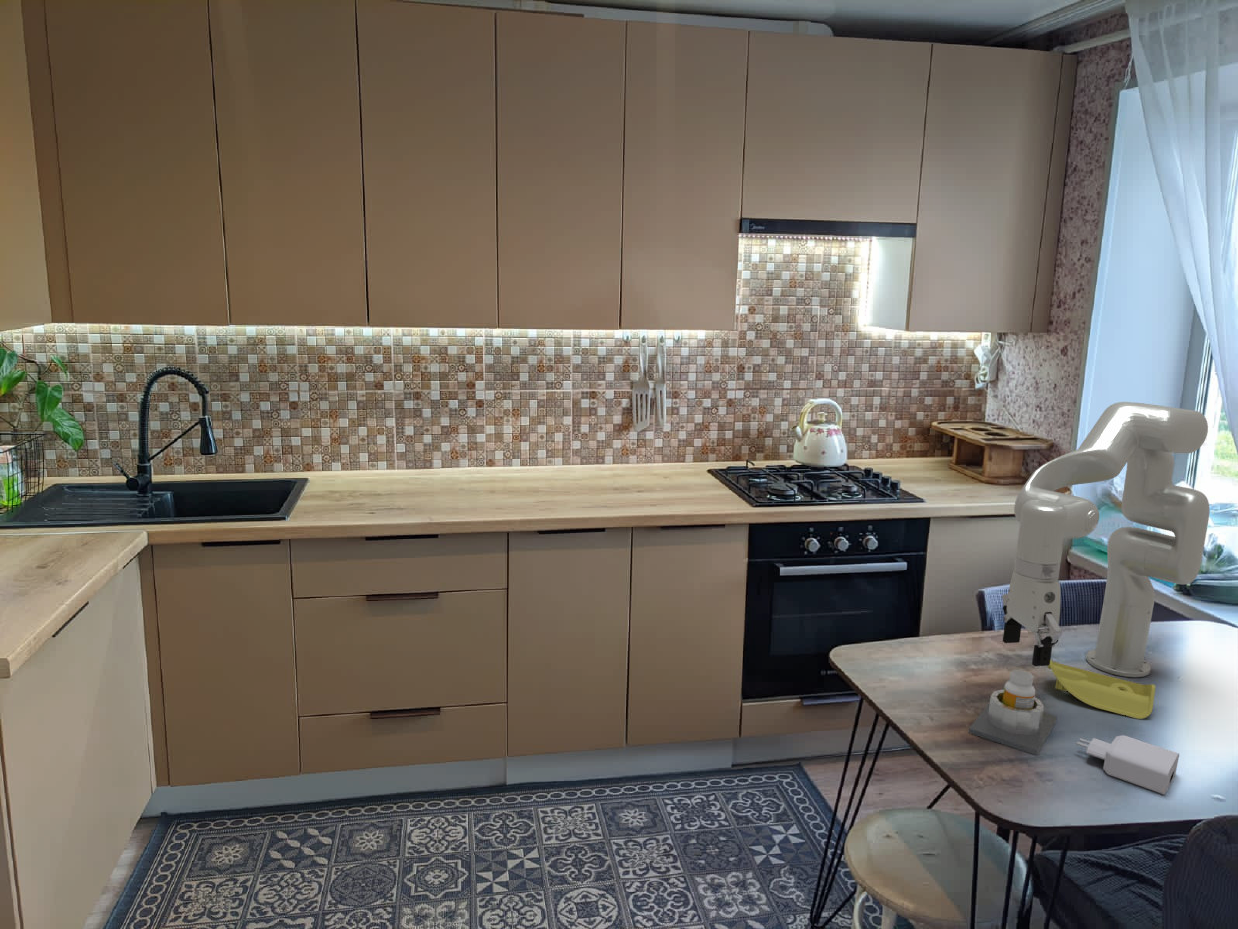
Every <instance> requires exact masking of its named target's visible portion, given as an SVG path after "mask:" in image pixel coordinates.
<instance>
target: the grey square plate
mask: <svg viewBox="0 0 1238 929" xmlns="http://www.w3.org/2000/svg"><path fill="white" fill-rule="evenodd" d="M1003 694H1004V688H1003V689H999V690H994V691H993V692H992V693H991V695H990V697H989V702H988V703H987V705H986V706H985V707H984V708H983V710H982V711H981V712H980V714H979V715H978V716H977V718H975V720H974V721H973V723H972V724H970V725H971V726H969V728H968V734H970V733H971V734H970V735H974V736H975V737H979V736H980V738H983V739H986V740H988V739H989V741H992V742H995V743H998V744H1000V743H1001V745H1004V746H1007V747H1009V748H1014V749H1016V750H1019V751H1023V752H1024V753H1025V752H1026V753H1028V754H1030V755H1034V756H1038V754H1039V752H1040V750H1041V749H1042V747H1043V745H1044V744H1045V742H1046V740H1047V738H1048V737H1049V736H1050V734H1051V731H1052V730H1053V729H1054V727H1055V724H1056V723H1057V720H1058V716H1055V715H1053V714H1049V713H1046V712H1044V708H1045V706H1044V704H1043V702H1042V701H1041V700H1040V699H1039V698H1037V697H1035V698H1034V705H1033V709H1031V710H1020V709H1015V708H1012V707H1008V706H1006V705H1004V704H1003V703H1002V701H1003Z"/></svg>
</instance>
